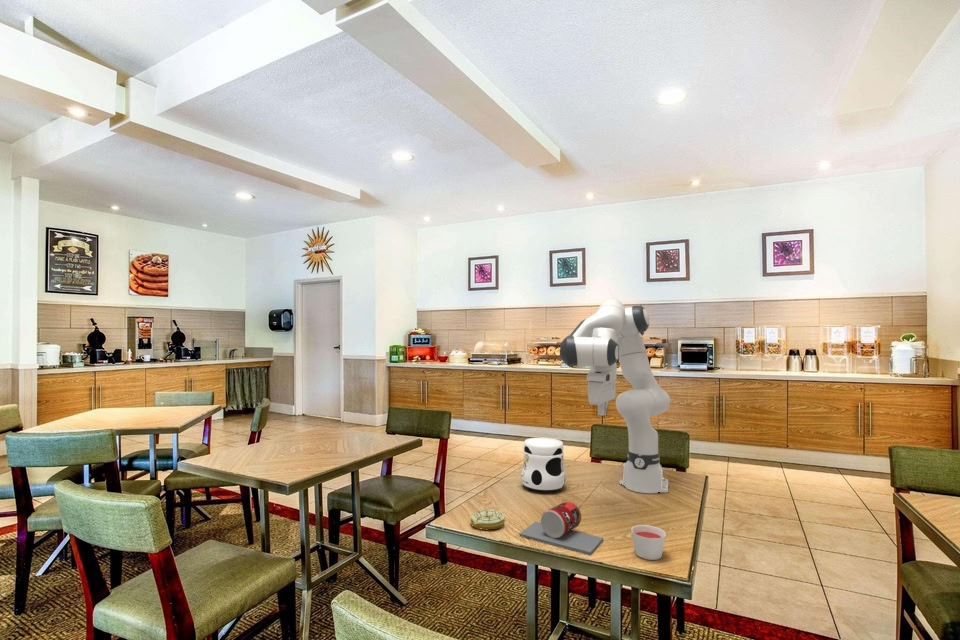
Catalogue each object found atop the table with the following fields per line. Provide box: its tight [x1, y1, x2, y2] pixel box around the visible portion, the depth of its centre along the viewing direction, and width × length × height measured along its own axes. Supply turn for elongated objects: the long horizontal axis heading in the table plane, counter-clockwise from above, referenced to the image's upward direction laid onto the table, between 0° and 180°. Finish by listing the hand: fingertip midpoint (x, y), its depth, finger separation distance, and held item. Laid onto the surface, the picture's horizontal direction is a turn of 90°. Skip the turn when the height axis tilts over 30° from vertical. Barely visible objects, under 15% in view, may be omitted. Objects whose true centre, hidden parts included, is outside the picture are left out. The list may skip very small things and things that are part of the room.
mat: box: [518, 521, 604, 556], centre depth 142 cm, size 11×22×1 cm, turn 58°
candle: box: [630, 524, 667, 561], centre depth 132 cm, size 9×9×6 cm
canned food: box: [540, 501, 582, 538], centre depth 144 cm, size 8×8×11 cm
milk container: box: [520, 437, 567, 493], centre depth 188 cm, size 17×17×18 cm
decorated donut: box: [470, 509, 506, 530], centre depth 151 cm, size 10×11×4 cm
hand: (602, 415), depth 164 cm, fingers closed
